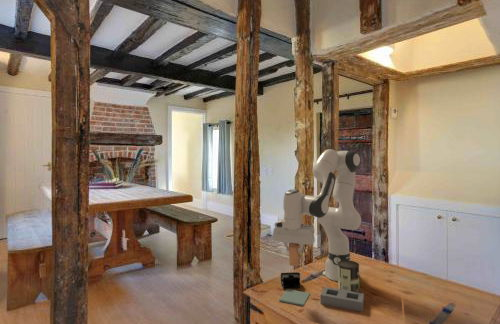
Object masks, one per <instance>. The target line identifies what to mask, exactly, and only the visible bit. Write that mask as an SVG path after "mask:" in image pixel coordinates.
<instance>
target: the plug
mask: <svg viewBox="0 0 500 324" xmlns="http://www.w3.org/2000/svg"><path fill="white" fill-rule="evenodd" d="M288 247H289V251H288V253H289V254H288V255H289V258H288V259H289V265H290V266H291V267H292V266H293V267H297V266H299V265H300V263H299V253H298V248H299V244H297V243H288Z"/></svg>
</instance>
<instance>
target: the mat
mask: <svg viewBox="0 0 500 324" xmlns="http://www.w3.org/2000/svg"><path fill="white" fill-rule="evenodd" d="M310 296H311V293H310V292H307V291H300V290H297V289H285V291H284V292H283V294H282V295H281V297H280V298H279V299H278V302H282V303H285V304H291V305H295V304H296V306H300V307H305V304H306V303H307V301H308V300H309V298H310Z"/></svg>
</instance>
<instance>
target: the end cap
mask: <svg viewBox="0 0 500 324" xmlns="http://www.w3.org/2000/svg"><path fill="white" fill-rule="evenodd" d="M280 284H281V286H282V289H283V290H287V289H290V290H297V289H298V290H300V289H301V284H302V283H301V273H300V271H299V272H298V271H297V272H280Z"/></svg>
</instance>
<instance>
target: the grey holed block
mask: <svg viewBox="0 0 500 324" xmlns="http://www.w3.org/2000/svg"><path fill="white" fill-rule="evenodd" d="M319 296H320V304H321V305H326V306H331V307H337V308H340V309H346V310H351V311H356V312H362V313H363V310H364V304H365V293H364V292H360V291H359V292H353V291H347V290H341V289H339V288H335V287H329V286H324V287H323V288H322V291H321V293H320V295H319Z"/></svg>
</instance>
